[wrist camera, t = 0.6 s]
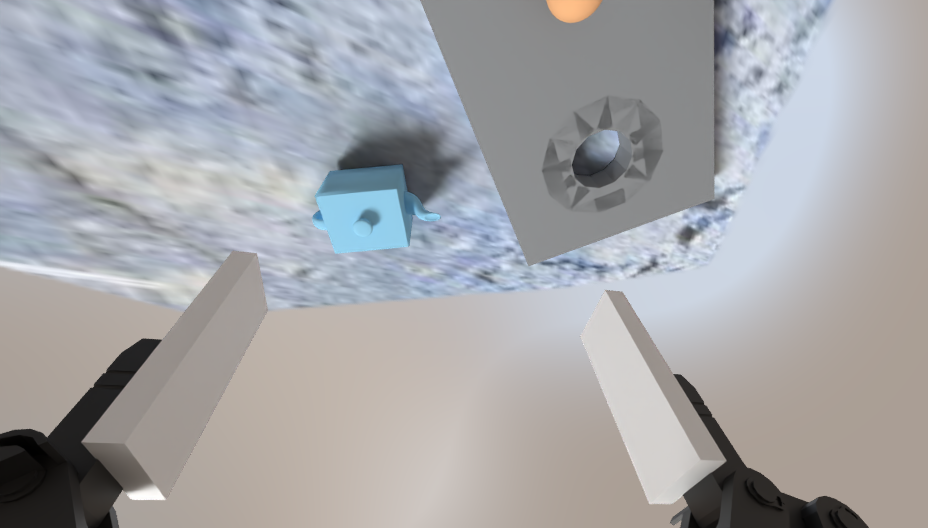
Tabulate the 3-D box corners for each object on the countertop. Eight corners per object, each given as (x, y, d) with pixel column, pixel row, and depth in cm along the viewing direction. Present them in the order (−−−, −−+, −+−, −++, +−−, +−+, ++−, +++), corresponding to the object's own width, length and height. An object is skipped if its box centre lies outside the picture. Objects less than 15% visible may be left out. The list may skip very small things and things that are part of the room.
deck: (400, -55, 26) (396, -60, 24) (684, -222, 22) (713, -248, 20) (523, 251, 43) (528, 266, 41) (697, 186, 39) (714, 198, 37)
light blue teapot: (436, 157, 36) (436, 190, 30) (443, 211, 40) (444, 249, 34) (317, 168, 36) (292, 203, 30) (334, 221, 40) (316, 262, 34)
